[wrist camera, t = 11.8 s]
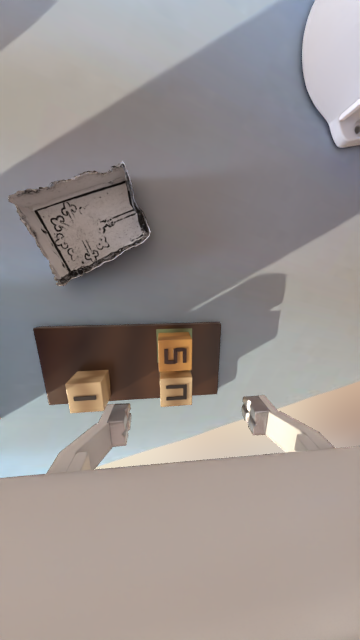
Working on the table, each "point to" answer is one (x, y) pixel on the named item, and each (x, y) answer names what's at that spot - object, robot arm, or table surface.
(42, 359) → the letter board
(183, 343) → the letter s tile
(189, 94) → the table surface
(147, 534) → the robot arm
